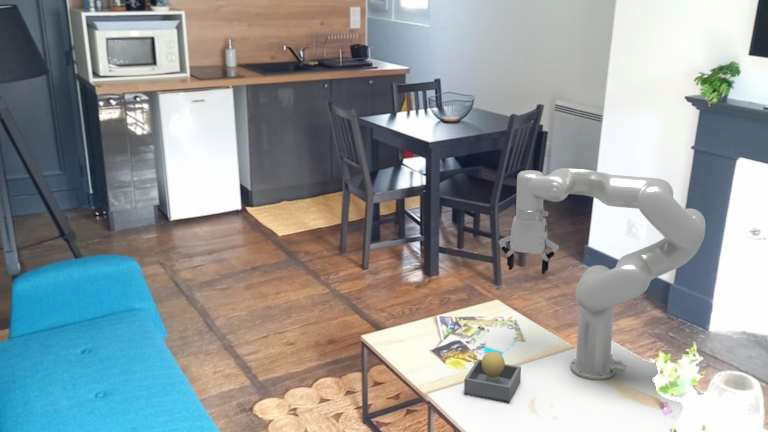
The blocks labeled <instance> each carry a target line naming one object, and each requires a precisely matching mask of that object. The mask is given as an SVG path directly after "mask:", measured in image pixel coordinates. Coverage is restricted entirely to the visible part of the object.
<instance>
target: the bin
mask: <svg viewBox="0 0 768 432" xmlns="http://www.w3.org/2000/svg"><path fill="white" fill-rule="evenodd" d="M481 362H482V359H477V360H476V361H475V362H474V364H473V366H472V367H471V368H470V369H469V372H468V373H467V374H466V375H465V378H464V381H463V383H464V386H463V389H464V391H463V395H464V394H465V395H464V396H468V395H469V397H475V398H478V397H479V398H478V399H483V398H484V400H489V401H495V402H499V403H505V404H510V403H511V401H512V400H513V398H514V395H515V394H516V391H517V389H518V387H519V386H520V384H521V376H522V372H521V371H522V367H521V366H518V365H513V364H507V363H505V366H504V369H503V371H502V372H501V373H500V374H499V376H500V378H499V380H500V381H499V384H496V383H491V382H486V375H487V374H486V373H485V371H484V370H483V368H482V364H481Z"/></svg>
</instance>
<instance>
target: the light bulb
mask: <svg viewBox="0 0 768 432" xmlns="http://www.w3.org/2000/svg"><path fill="white" fill-rule="evenodd" d="M481 360H482V362H481V364H482V368H483V370H484V371H485V373H486V374H487V375H486V382H491V383H496V384H499V381H500V380H499V378H500V376H499V374H500V373H501V372H502V371H503V369H504V366H505V364H506V363H505V362H506V361H505V359H504V357H503V355H502V354H501V353H500V352H497V351H489V352H487V353H485V354H484V355H483V357H482V359H481Z"/></svg>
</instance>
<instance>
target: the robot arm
mask: <svg viewBox="0 0 768 432" xmlns="http://www.w3.org/2000/svg"><path fill="white" fill-rule="evenodd" d="M516 177H517V178H516V205H515V208H516V209H515V216H514V217H513V220H512V224H511V230H510V235H508V236H506V237H503V238H500V239H499V240H498V244H499V246H500V248H501V251H502V252H503V253H504V254H505V256H506V257H507V258H506V259H507V262H506V265H507V267H508V270H509V271H510V270H513V268H514V267H515V265H514V264H515V255H514V252H515V253H516V252H517V253H524V254H525V253H526V254H533V255H535V254H536V255H540V256H541V259H543V260H542V261H541V274H542V275H545V274H546V272H547V271H549V260H550V259H551V258H553V257H554V256H555V254H556V253H557V251H558V250H559V248H560V245H558V244H557V243H555V242H553V241H552V240H550V239H548V227H547V225H548V224H547V220H546V218H545V217H548V216H549V211H546V210H545V208H544V200H546V201H550V202H561V201H563V200H565V199H566V198H567V197H568V196H569V195H578V196H579V195H580V196H587V197H591V198H595V199H596V200H597V201H599V202H601V203H603V204H604V205H606V206H608V207H617V208H625V209H626V208H627V209H637V210H639V211H640V213H641V214H642V215H643V217H645V218H646V220H648V222H649V223H650V225H652V226H653V228H655V229H656V230H657V232H659V233H660V234H661V235H662V236H663V238H662V239H660V240H659V241H657V242H654V243H652V244H650V245H648V246H645V247H643V248H641V249H640V248H639V249H638V250H636V251H633V252H631V253H627V254H624V255H623V256H621V257H620V258H619V260H618V261H617V263H616V265H615V267H613V268H612V269H610V268H608V267H607V266H605V265H601V264H600V265H599V264H597V265H593V266H589V267H588V268H586V270H585V271H584V272H583V274H582V275H581V277H580V279H579V282H578V284H577V286H576V288H575V293H574V294H575V299H576V302H577V304H578V307H579V308H578V319H577V322H578V323H577V336H576V337H577V340H576V354H575V355H576V356H575V357H576V358H575V359H573V360H571V361H570V365H569V367H570V371H571V372H572V373H573V374H575V375H576V376H578V377H580V378H583V379H588V380H595V381H599V380H600V381H601V380H607V379H610V378H612V377H613V376H615V374H616V371H620V372H623V373H625V372H626V371H627V365H626V364H624V363H623V360H615V359H614V358H613V354H612V340H613V339H612V338H613V326H614V313H615V307H616V306H618V305H621V304H624V303H626V302H629V301H632V300H633V299H636V298H638V297H639V296H641V295H642V294H644V293H645V292H646V291H647V290H648V287H649V286H650V283H651V281H653V280H654V279H655V278H658V277H661V276H663V275H665V274H668V273H670V272H672V271H674V270H677V269H678V268H680V267H682V266H684V265H685V264H687V263H689V261H690V260H691V259H693V257H695V255H696V254H697V253H698V251H699V249H701V248H700V247H701V246H702V244H703V241H704V239H705V235H706V224H707V223H706V220H705V217H704V214H702V213H701V212H700V211H699V210H697V209H695V208H683V207H682V206H681V204H680V203H679V202H678V201H677V200H676V199H675V197H674V190H673V187H672V185H671V184H670V183H669V182H668V181H667V180H665V179H663V178H655V177H643V176H634V175H633V176H631V175H619V174H611V173H606V172H602V171H601V172H600V171H597V170H592V169H583V168H568V167H567V168H566V167H562V168H561V167H560V168H558V169H555V170H553V171H552V172H551V173H550V174H548V175H547V174H546V175H544V173H543V172H542V171H539V170H532V169H529V170H528V169H526V170H521V171H520V172H518V174H517V176H516ZM508 242H509V247H508V246H507V245H506V243H508ZM548 247H549V248H551V249H552V250H551V251H550V252H548V251H547V249H548Z"/></svg>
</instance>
